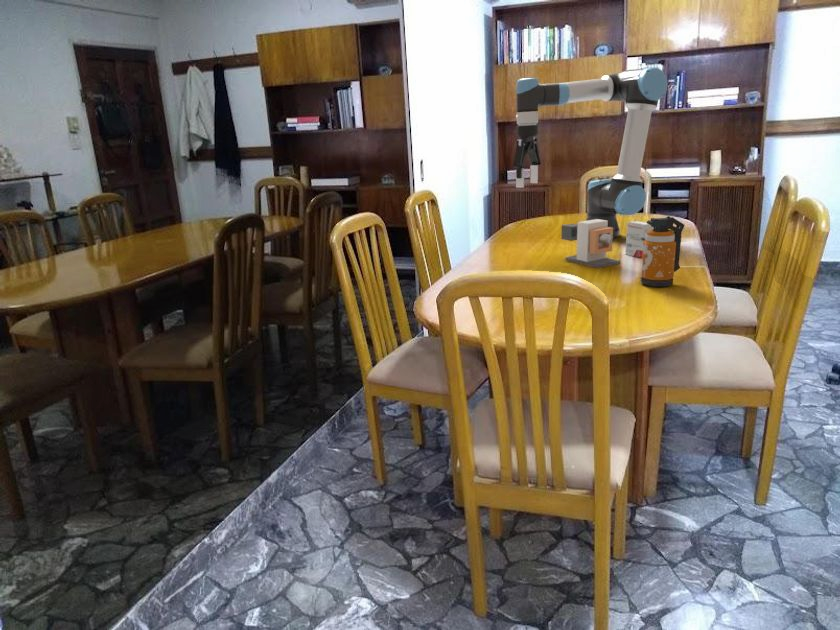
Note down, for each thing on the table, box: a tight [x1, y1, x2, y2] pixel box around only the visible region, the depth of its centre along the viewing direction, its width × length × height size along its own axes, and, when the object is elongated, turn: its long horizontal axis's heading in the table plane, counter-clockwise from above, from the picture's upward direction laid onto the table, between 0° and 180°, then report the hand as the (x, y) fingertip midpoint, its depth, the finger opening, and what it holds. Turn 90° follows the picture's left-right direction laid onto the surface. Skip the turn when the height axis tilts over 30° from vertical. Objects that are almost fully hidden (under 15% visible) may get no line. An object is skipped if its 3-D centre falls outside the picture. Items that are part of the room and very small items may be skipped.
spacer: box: [589, 227, 613, 254], centre depth 208 cm, size 2×8×8 cm, turn 120°
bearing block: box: [564, 219, 621, 269], centre depth 212 cm, size 16×10×14 cm, turn 30°
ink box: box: [624, 220, 654, 259], centre depth 218 cm, size 8×5×12 cm, turn 26°
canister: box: [640, 215, 686, 288], centre depth 180 cm, size 9×11×20 cm
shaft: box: [560, 223, 614, 244], centre depth 213 cm, size 20×5×5 cm, turn 30°
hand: (527, 185), depth 225 cm, fingers open, 13 cm apart
